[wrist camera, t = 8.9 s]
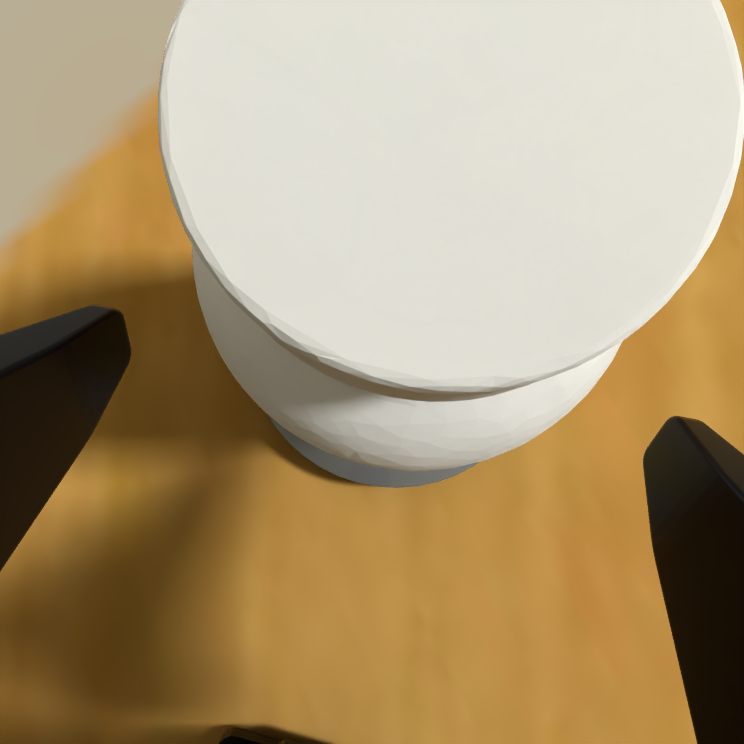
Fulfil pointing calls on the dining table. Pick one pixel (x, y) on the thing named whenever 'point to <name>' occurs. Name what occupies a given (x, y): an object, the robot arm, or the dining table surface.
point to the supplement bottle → (442, 203)
